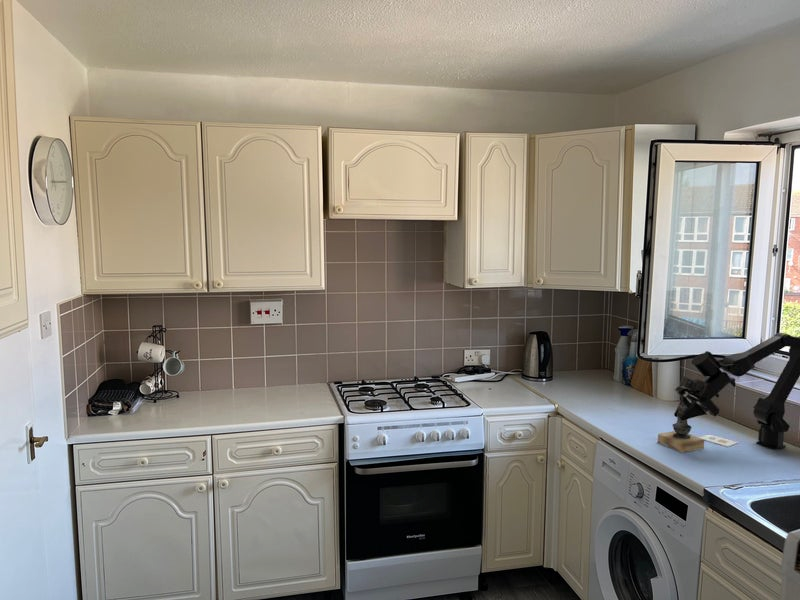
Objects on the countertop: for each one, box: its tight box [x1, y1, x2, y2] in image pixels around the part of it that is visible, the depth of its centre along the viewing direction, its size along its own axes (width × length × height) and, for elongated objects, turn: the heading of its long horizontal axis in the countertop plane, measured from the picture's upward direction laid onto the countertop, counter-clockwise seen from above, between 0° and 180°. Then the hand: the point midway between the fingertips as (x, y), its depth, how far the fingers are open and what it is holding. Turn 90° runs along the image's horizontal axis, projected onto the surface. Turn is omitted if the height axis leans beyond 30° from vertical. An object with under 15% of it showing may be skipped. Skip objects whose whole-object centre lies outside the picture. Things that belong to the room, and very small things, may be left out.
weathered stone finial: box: [672, 402, 693, 439], centre depth 195 cm, size 6×6×12 cm
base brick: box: [657, 430, 705, 453], centre depth 195 cm, size 10×10×3 cm
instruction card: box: [698, 434, 739, 448], centre depth 200 cm, size 10×7×1 cm
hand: (677, 417), depth 194 cm, fingers closed on weathered stone finial, 3 cm apart
